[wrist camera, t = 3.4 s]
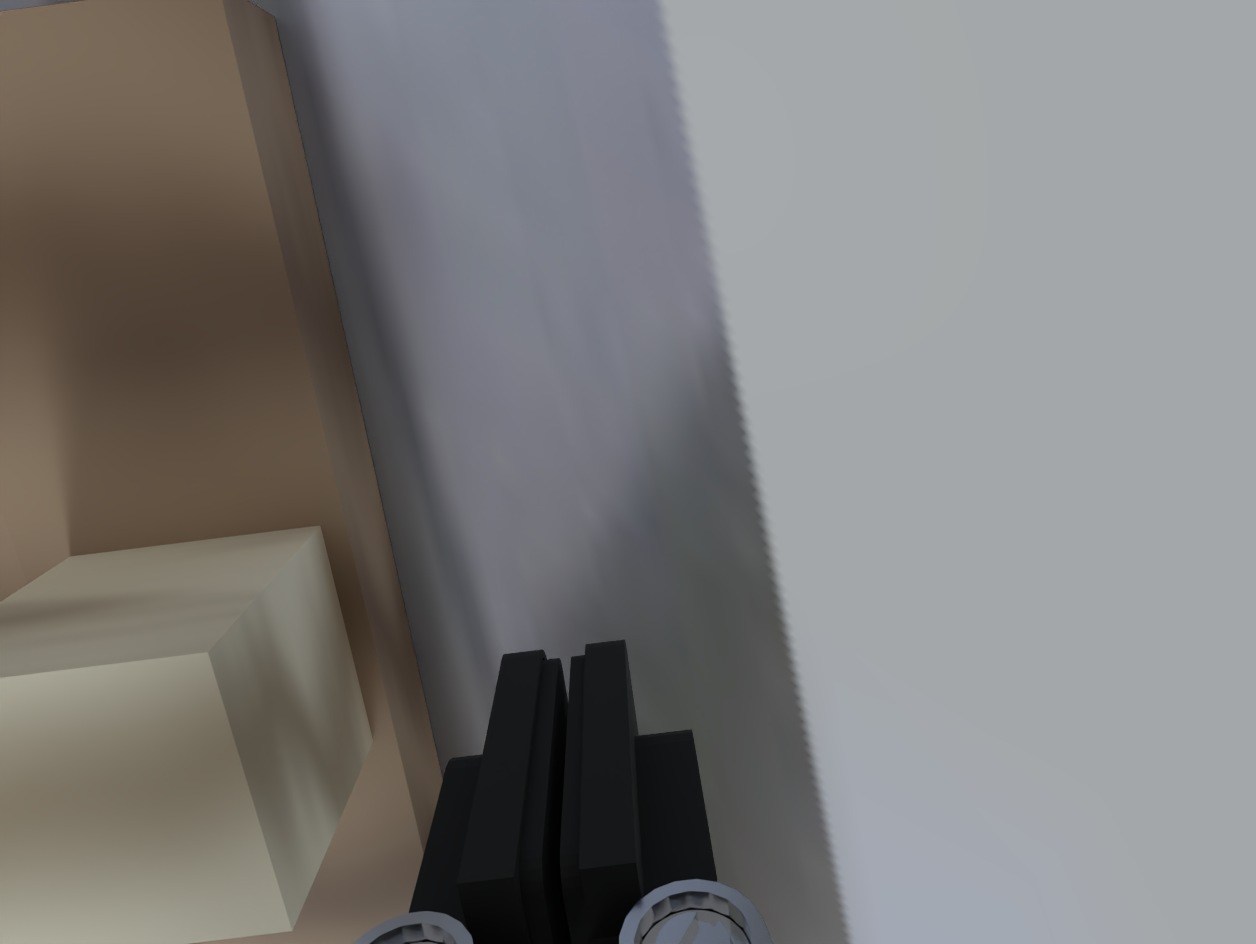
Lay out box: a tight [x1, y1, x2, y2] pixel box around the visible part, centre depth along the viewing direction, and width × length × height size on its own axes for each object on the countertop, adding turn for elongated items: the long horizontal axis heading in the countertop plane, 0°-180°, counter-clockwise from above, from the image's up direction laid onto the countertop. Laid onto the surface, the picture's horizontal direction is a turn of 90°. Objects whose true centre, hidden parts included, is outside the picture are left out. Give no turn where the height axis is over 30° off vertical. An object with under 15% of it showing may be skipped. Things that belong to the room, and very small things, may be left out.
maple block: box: [0, 526, 373, 944], centre depth 15 cm, size 5×5×5 cm
